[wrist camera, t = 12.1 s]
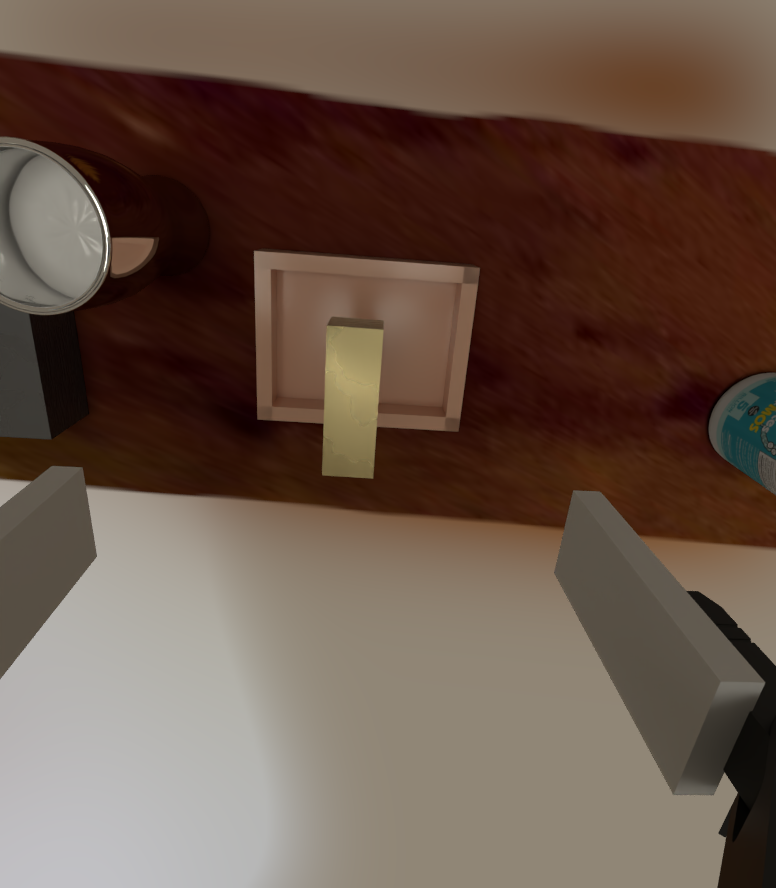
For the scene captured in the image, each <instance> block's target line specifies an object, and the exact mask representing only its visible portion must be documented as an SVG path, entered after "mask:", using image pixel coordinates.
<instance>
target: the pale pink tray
mask: <svg viewBox="0 0 776 888" xmlns="http://www.w3.org/2000/svg"><path fill="white" fill-rule="evenodd" d="M254 272H255V320H256V368H257V416H258V420H275V421H291V422H308V423H324V398H325V366H326V334H327V324H328V323H329V321H330V319H331V317H345V318H358V319H372V320H384V331H383V345H382V359H381V373H380V387H379V401H378V415H377V427H391V428H407V429H424V430H440V431H457V432H458V430H459V423H460V415H461V408H462V400H463V393H464V385H465V378H466V370H467V363H468V355H469V348H470V340H471V333H472V325H473V318H474V310H475V303H476V295H477V288H478V280H479V273H480V268H479V267H477V266H475V265H472V264H461V263H448V262H434V261H421V260H408V259H395V258H382V257H369V256H356V255H343V254H330V253H317V252H304V251H290V250H277V249H264V248H263V249H259V250H255V251H254Z"/></svg>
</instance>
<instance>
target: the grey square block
mask: <svg viewBox="0 0 776 888" xmlns="http://www.w3.org/2000/svg"><path fill="white" fill-rule="evenodd" d="M88 414H89V411H88V404H87V397H86V391H85V384H84V377H83V370H82V364H81V357H80V350H79V344H78V337H77V330H76V323H75V317H74V311H70V312H66V313H62V314H57V315H34V314H29V313H24V312H21V311H17V310H14V309H12V308H9V307H7V306H5V305H3V304H1V303H0V436H1V437H19V438H36V439H53V438H54V437H56V436H57V435H59V434H60V433H62V432H63V431H65V430H66V429H67V428H69V427H70V426H72V425H73V424H75V423H76V422H78V421H79V420H81V419H82V418H84V417H85V416H87V415H88Z"/></svg>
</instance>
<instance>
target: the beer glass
mask: <svg viewBox="0 0 776 888" xmlns="http://www.w3.org/2000/svg"><path fill="white" fill-rule="evenodd" d="M209 236H210V231H209V223H208V219H207V215H206V213H205V210H204V208H203V206H202V205H201V203H200V201H199V200H198V198H197V197H196V196H195V195H194V194H193V193H192V192H191V191H190V190H189V189H188V188H187V187H186V186H185V185H183V184H182V183H180V182H178V181H176V180H174V179H172V178H169V177H166V176H161V175H145V176H140V175H139V174H137V173H136V172H134V171H133V170H131V169H130V168H128V167H127V166H125V165H123V164H121V163H119V162H118V161H116V160H114V159H112V158H110V157H108V156H106V155H103V154H100V153H97V152H94V151H91V150H88V149H85V148H81V147H78V146H73V145H67V144H62V143H56V142H47V141H37V140H24V139H20V138H14V137H0V303H1V304H3V305H5V306H7V307H9V308H12V309H14V310H17V311H21V312H24V313H29V314H34V315H57V314H62V313H66V312H70V311H79V310H86V309H92V308H97V307H101V306H105V305H109V304H113V303H116V302H119V301H121V300H124V299H126V298H129V297H131V296H133V295H135V294H137V293H138V292H140V291H141V290H143V289H144V288H145V287H147V286H148V285H150V284H151V283H152V282H153V281H154V280H155V279H156V278H158V277H159V276H177V275H181V274H184V273H186V272H188V271H190V270H192V269H193V268H194V267H195V266H197V265H198V264H199V262H200V261H201V260H202V258H203V257H204V255H205V253H206V250H207V247H208V244H209Z"/></svg>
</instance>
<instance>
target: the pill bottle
mask: <svg viewBox="0 0 776 888" xmlns="http://www.w3.org/2000/svg"><path fill="white" fill-rule="evenodd" d="M709 437H710V441H711V443H712V445H713V447H714V449H715V450H716V451H717V453H718V454H719V455H720V456H721V457H723V458H724V459H725V460H727V461H728V462H729V463H731V464H732V465H734V466H735V467H736V468H738V469H739V470H741V471H742V472H744V473H745V474H746V475H748V476H749V477H751V478H752V479H754V480H755V481H757V482H758V483H759V484H761V485H762V486H764V487H765V488H767V489H768V490H769V491H771V492H772V493H774V494H775V495H776V373H762V374H757V375H753V376H751V377H748V378H746V379H744V380H742V381H740V382H738V383H737V384H735V385H734V386H732V387H731V388H730V389H729V390H728V391H726V392H725V393H724V394H723V396H722V397H721V398H720V399H719V401H718V402H717V404H716V405H715V407H714V409H713V411H712V414H711V417H710V420H709Z"/></svg>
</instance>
